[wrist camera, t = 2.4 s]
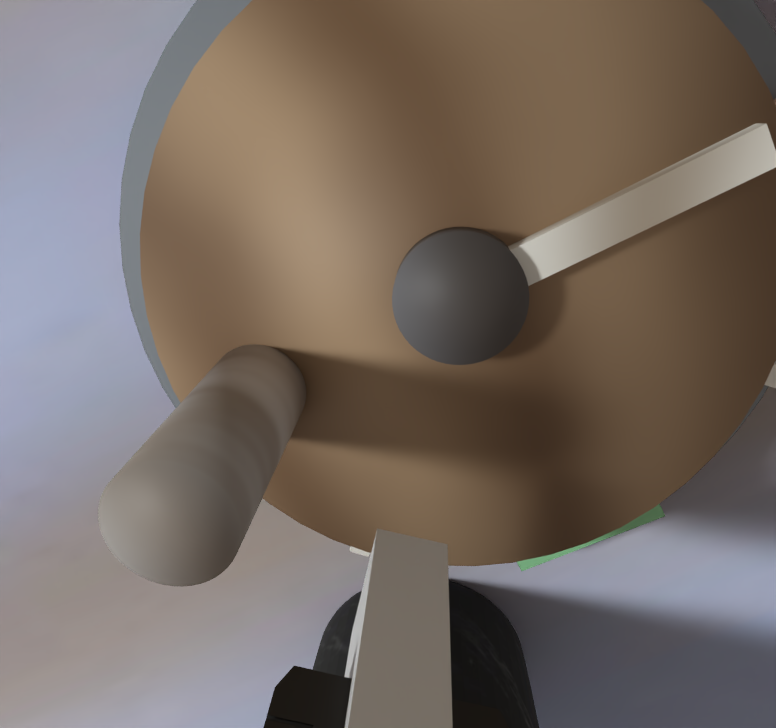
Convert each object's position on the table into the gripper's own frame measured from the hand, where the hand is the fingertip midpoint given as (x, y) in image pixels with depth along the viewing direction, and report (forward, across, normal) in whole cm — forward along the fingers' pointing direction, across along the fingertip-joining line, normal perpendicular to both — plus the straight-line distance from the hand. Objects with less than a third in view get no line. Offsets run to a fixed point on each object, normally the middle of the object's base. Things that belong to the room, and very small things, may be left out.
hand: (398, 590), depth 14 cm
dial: (+5, 0, +6) cm, 8 cm away
